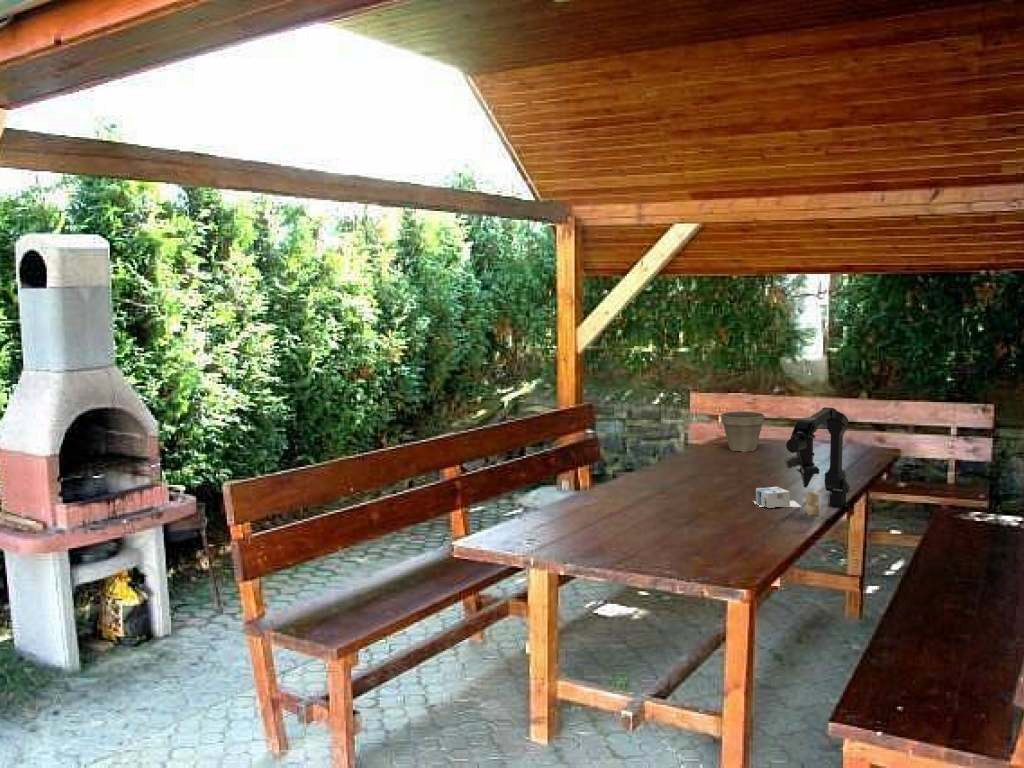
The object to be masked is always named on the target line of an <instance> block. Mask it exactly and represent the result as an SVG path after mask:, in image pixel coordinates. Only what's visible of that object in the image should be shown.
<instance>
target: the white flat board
mask: <svg viewBox="0 0 1024 768" xmlns="http://www.w3.org/2000/svg"><path fill="white" fill-rule="evenodd" d="M753 502H754V503H753ZM752 503H753V504H754V505H756V504H757V505H759V504H758V503H756V500H752ZM757 505H756V506H757ZM759 507H764V506H763V505H759ZM759 507H758V508H759ZM784 507H793V508H803V506H802V505H800V504H799V503H798V502H796V501H795V500H790V506H784Z"/></svg>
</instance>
